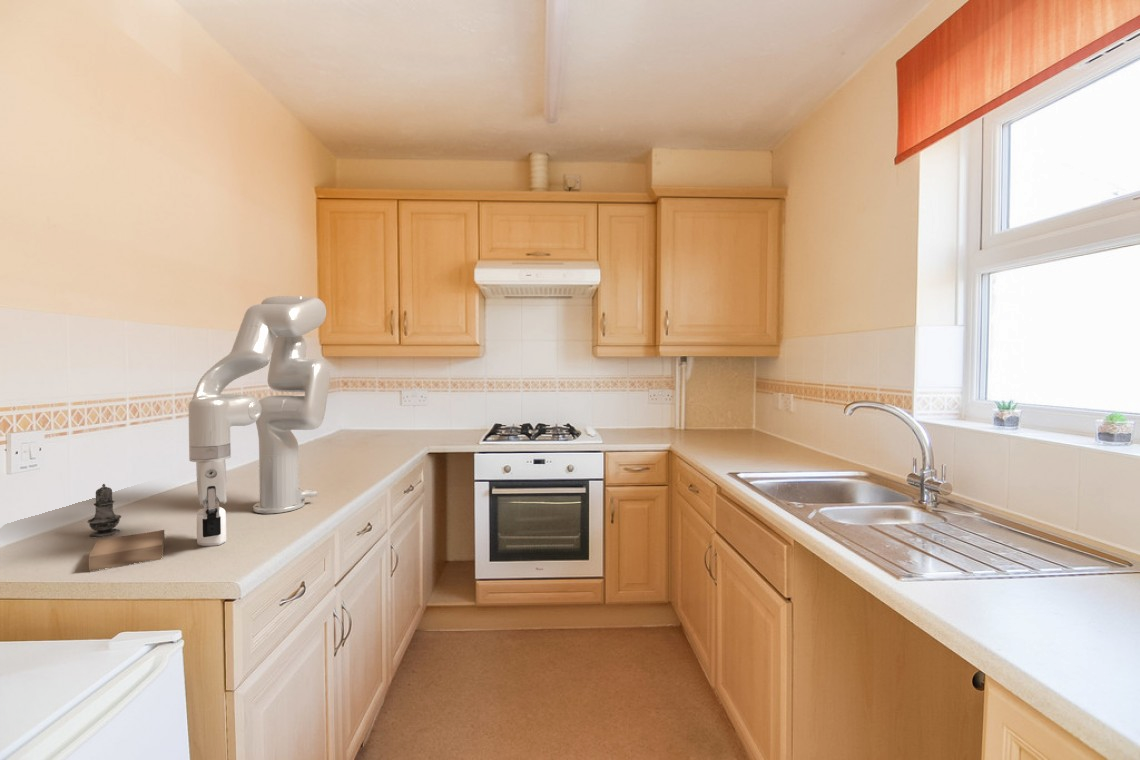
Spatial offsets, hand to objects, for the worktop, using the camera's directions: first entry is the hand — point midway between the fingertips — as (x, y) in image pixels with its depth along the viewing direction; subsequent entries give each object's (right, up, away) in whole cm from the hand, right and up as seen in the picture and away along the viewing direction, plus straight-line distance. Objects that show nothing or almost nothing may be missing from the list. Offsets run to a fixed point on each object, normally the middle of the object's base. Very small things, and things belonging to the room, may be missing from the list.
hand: (211, 531), depth 111 cm
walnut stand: (-12, -3, -8) cm, 14 cm away
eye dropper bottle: (0, -3, 0) cm, 3 cm away
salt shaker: (-29, -2, +5) cm, 30 cm away
